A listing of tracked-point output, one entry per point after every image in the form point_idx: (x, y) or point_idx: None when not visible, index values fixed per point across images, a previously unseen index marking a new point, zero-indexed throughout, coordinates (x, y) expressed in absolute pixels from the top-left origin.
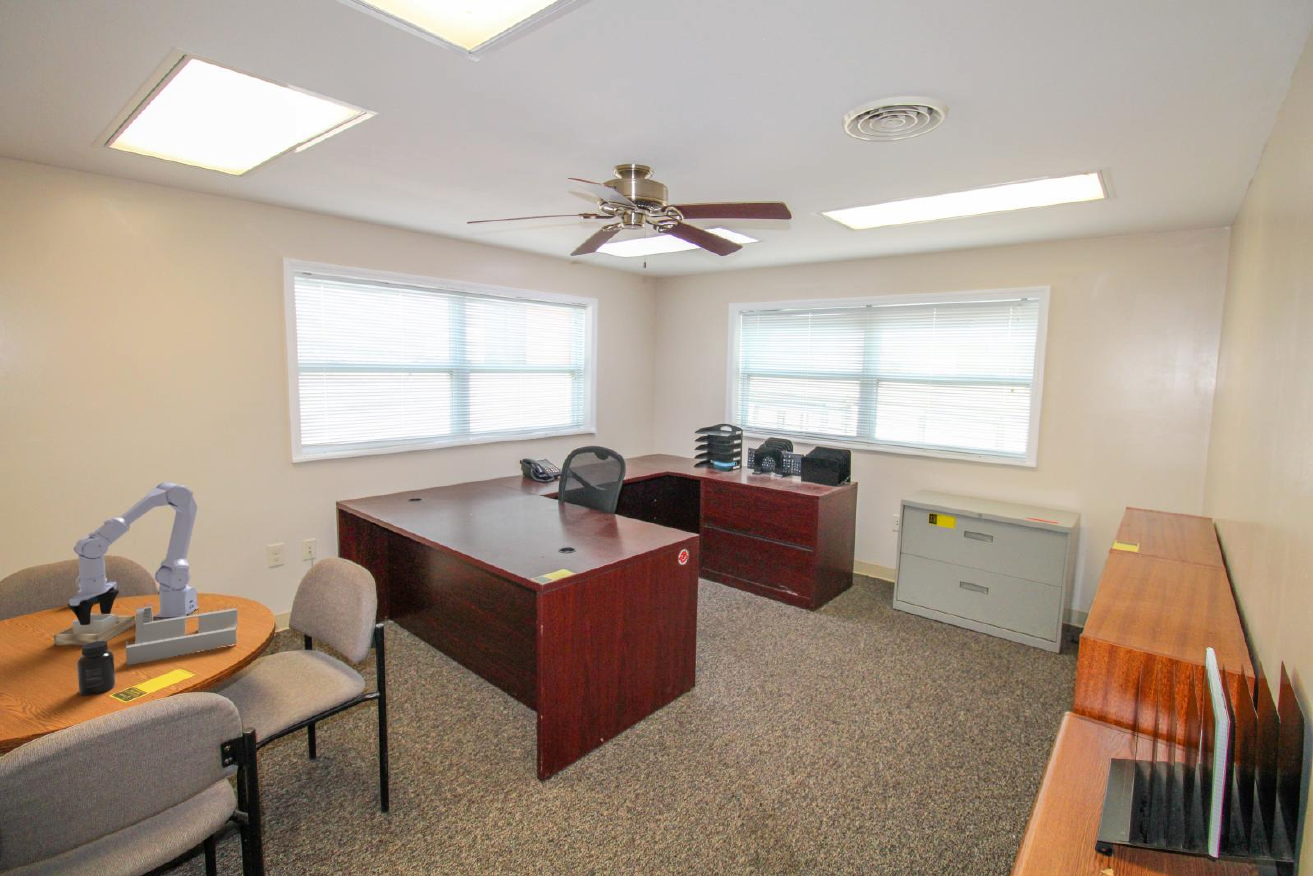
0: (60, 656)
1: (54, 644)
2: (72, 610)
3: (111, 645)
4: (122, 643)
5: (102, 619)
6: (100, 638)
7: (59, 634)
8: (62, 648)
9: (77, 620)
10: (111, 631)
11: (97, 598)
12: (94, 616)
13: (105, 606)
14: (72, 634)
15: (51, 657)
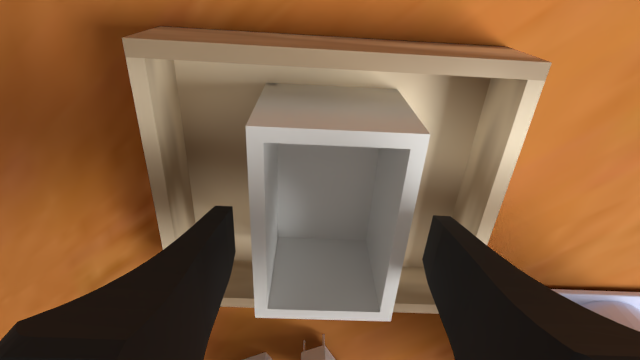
0: (41, 178)
1: (156, 28)
2: (89, 299)
3: None
4: (224, 327)
5: (384, 225)
6: None
7: (140, 78)
8: (131, 112)
9: (281, 141)
10: None
11: (521, 310)
12: (399, 187)
13: (453, 294)
14: (156, 172)
15: (16, 142)
